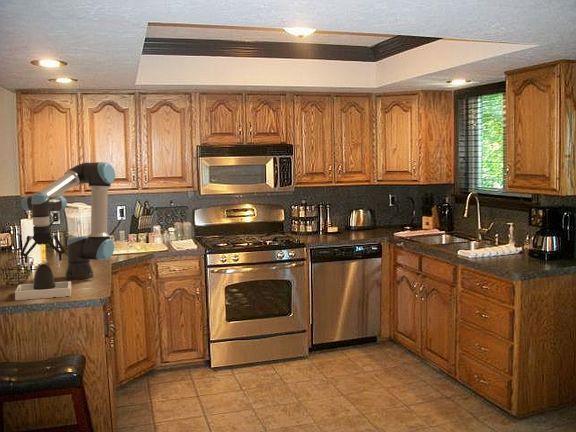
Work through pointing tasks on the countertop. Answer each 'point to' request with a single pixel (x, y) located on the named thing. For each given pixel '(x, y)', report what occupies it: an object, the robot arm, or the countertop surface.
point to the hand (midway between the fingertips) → (43, 268)
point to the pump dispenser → (43, 278)
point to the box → (43, 291)
